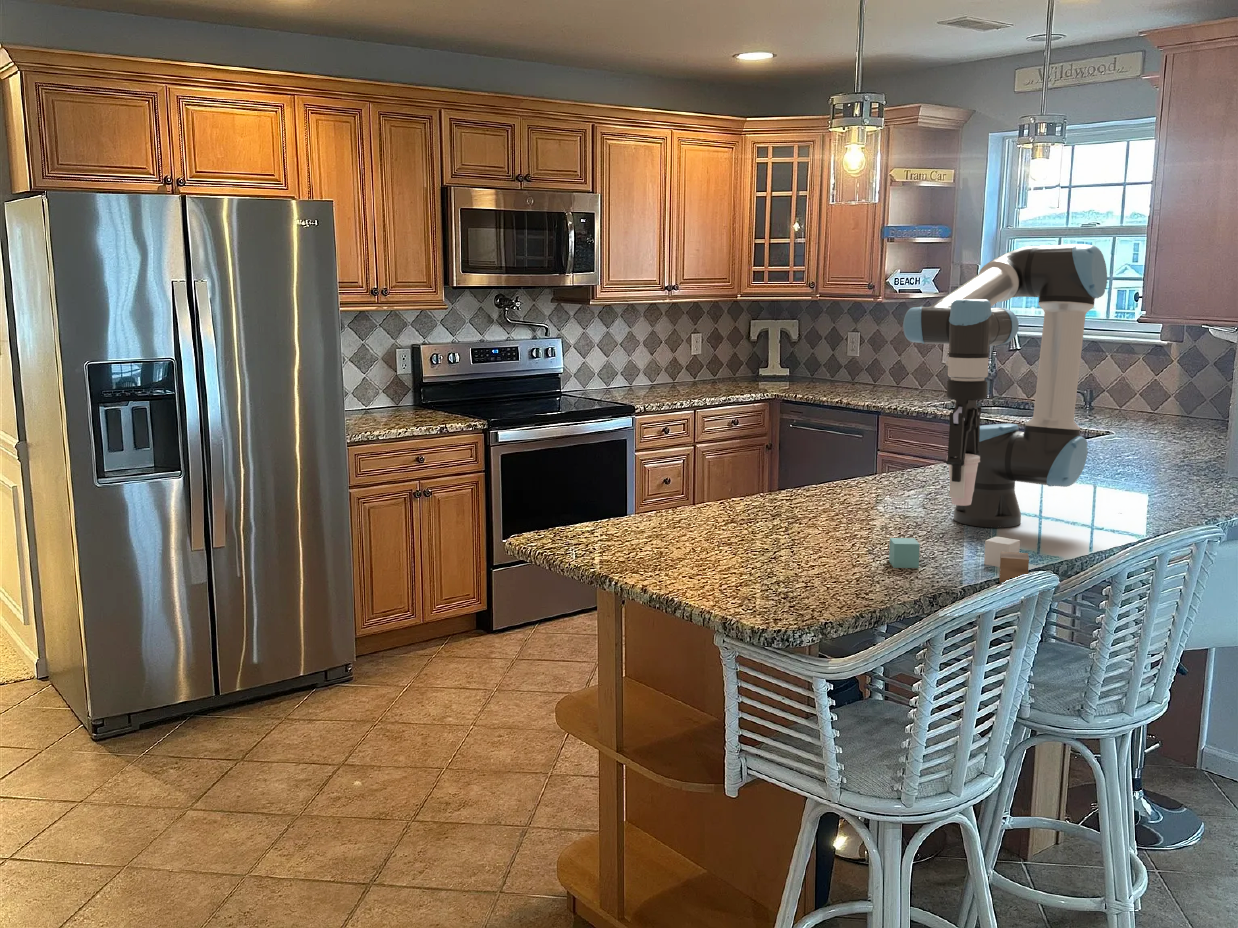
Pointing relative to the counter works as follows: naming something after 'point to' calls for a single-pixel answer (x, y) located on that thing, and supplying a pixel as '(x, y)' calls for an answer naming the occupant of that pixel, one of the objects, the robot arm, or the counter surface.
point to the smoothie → (967, 479)
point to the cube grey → (999, 549)
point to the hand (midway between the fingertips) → (961, 494)
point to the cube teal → (904, 553)
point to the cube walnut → (1013, 565)
